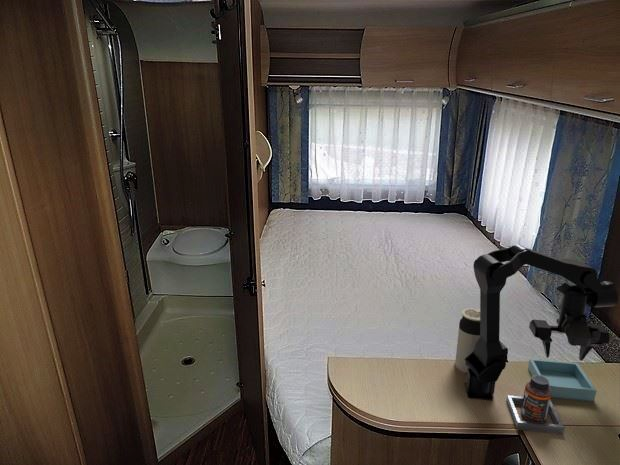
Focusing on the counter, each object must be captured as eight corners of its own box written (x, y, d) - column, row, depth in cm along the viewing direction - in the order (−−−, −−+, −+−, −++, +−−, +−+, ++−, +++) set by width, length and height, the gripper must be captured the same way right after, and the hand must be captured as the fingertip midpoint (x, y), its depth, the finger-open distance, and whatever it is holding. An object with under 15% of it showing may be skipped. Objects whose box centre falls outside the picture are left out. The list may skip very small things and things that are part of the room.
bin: (541, 397, 121) (543, 385, 120) (527, 370, 133) (529, 358, 132) (593, 403, 119) (596, 390, 118) (574, 374, 131) (577, 362, 130)
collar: (516, 429, 110) (517, 422, 109) (506, 401, 120) (507, 395, 119) (563, 434, 108) (564, 427, 107) (548, 405, 118) (549, 399, 117)
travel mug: (464, 377, 130) (471, 321, 125) (449, 362, 138) (455, 309, 132) (488, 372, 132) (495, 318, 127) (472, 358, 140) (478, 306, 134)
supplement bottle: (520, 421, 113) (526, 382, 109) (520, 406, 118) (526, 369, 114) (546, 428, 110) (553, 389, 107) (545, 413, 115) (552, 375, 112)
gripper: (545, 318, 113) (536, 371, 118) (626, 324, 110) (614, 379, 114) (532, 299, 123) (524, 349, 128) (606, 305, 120) (595, 355, 125)
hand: (563, 358), depth 124 cm, fingers open, 8 cm apart
